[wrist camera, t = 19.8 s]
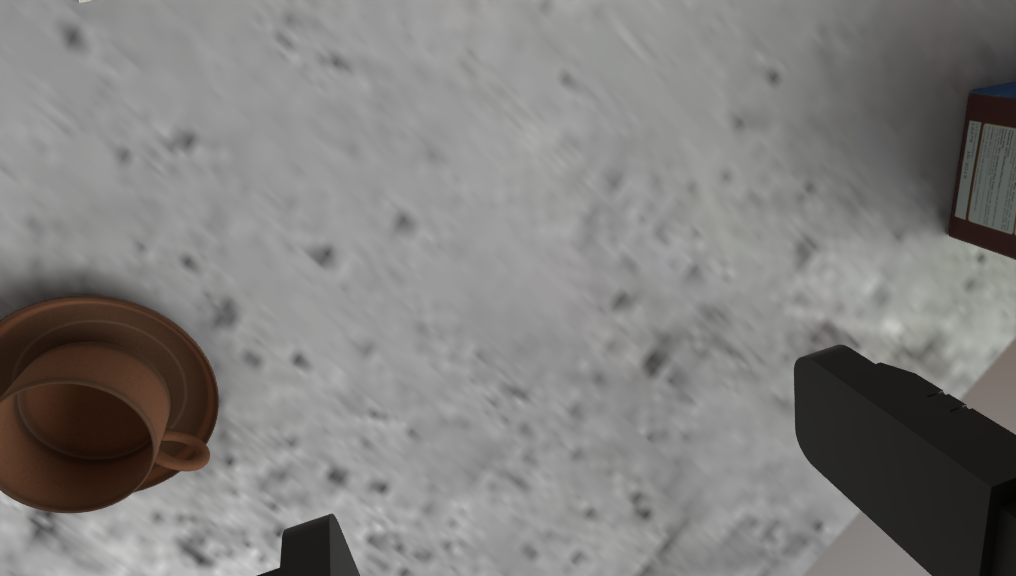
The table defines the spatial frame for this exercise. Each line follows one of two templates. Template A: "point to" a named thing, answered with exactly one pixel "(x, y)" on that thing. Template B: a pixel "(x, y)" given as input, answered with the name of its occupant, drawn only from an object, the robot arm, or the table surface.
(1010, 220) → the protein box
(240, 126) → the table surface
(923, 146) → the table surface
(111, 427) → the cup and saucer
